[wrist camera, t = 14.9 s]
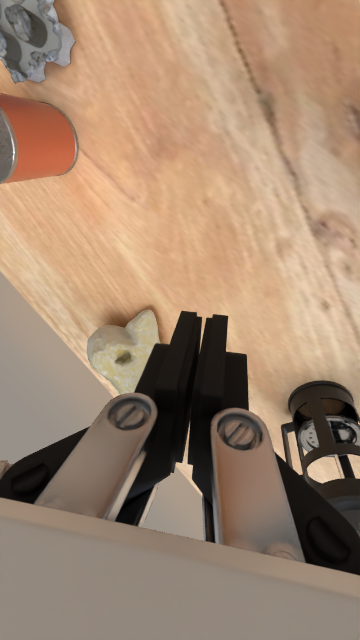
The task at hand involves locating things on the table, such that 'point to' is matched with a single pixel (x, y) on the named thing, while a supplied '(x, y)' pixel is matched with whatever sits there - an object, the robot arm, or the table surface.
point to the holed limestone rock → (123, 350)
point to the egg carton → (32, 38)
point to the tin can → (34, 140)
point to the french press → (327, 443)
